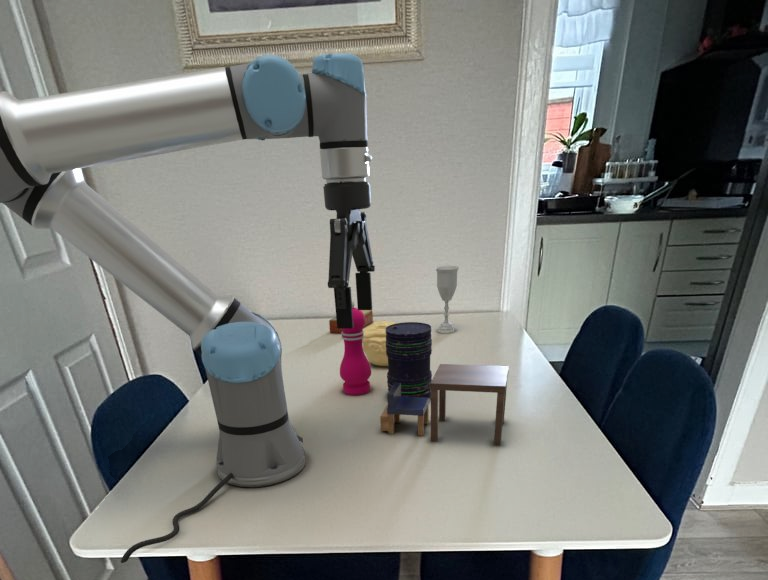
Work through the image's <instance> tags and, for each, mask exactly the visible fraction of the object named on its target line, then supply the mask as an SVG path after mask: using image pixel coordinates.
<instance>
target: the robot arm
mask: <svg viewBox="0 0 768 580" xmlns="http://www.w3.org/2000/svg"><path fill="white" fill-rule="evenodd" d="M311 65H312V68H311V72H309V73H308V72H307V73H303V74H299V72H298V70H297V68H295V67H294V65H293V64H292V63H291V62H290V61H289V60H287V59H286V58H284V57H282V56H280V55H276V54H263V55H260V56H257V58H255V59H253V60H252V61H251V62H246V63H240V64H233V65H231V66H226V67H225V66H222V67H216V68H210V69H209V68H208V69H204V70H203V69H202V70H197V71H191V72H185V73H178V74H173V75H166V76H159V77H154V78H148V79H141V80H135V81H130V82H124V83H117V84H111V85H105V86H100V87H93V88H86V89H80V90H75V91H69V92H61V93H56V94H49V95H44V96H38V97H37V96H36V97H32V98H25V99H18V98H17V97H15V96H14V95H12V94H11V93H10V92H8V91H5V90H4V91H3V90H2V91H0V204H3V205H4V206H5V207H7V208H8V209H9V210H11V211H12V212H13V213H15V214H16V215H17V216H18V217H20V218H21V219H23V221H25V222H26V223H28V224H29V226H31V227H32V228H34V229H39V230H42V229H50V230H53V231H54V232H56V233H57V234H58V235H59V236H60V237H62V238H63V239H64V240H66V241H67V242H68V243H70V244H71V245H72V246H73V247H75V248H76V249H77V250H79V251H80V252H81V253H83V254H84V255H85V256H86V257H88V258H89V259H90V260H91V261H93V263H95V264H97V265H98V266H99V267H100V268H102V269H103V270H104V271H105V272H107V273H108V274H109V275H111V276H112V277H113V278H114V279H116V280H117V281H118V282H120V283H121V284H122V285H123V286H125V287H126V288H127V289H129V290H130V291H131V292H132V293H133V294H135V295H136V296H138V297H139V298H140V299H141V300H142V301H144V302H145V303H147V304H148V305H149V306H150V307H151V308H153V309H154V310H156V311H157V312H158V313H159V314H161V315H162V316H163V317H165V319H167V320H168V321H170V322H171V323H172V324H173V325H175V326H176V327H177V328H178V329H180V330H181V331H183V333H185V334H186V335H188V337H189V339H190V345H191V349H192V350H193V351H194V352H195V353H197V354H198V355H199V356H200V357H201V361H202V364H203V366H204V370H205V373H206V374H205V375H206V378H207V382H208V386H209V391H210V396H211V400H212V404H213V408H214V409H213V410H214V413H215V418H216V421H217V426H218V431H219V436H218V442H217V443H218V444H217V450H216V451H217V452H216V458H215V459H216V460H215V466H216V470H217V474H218V475H217V476H218V477H219V478H220V479H221V481H220V482H218V484H217V485H215V487H214V488H213V489H212V490H210V491H209V493H208V494H207V495H206V496H205V497H204V498H203V499H202V500H201V501H199V503H197V504H195V505H194V506H192V507H189V508H187V509H184V510H181V511H179V512H178V513H177V514H175V515H174V516H173V518H172V525H173V529H172V531H171V532H170V533H168V534H165V535H163V536H159V537H154V538H150V539H145V540H142V541H139V542H137V543H135V544H132V546H130V547H129V548H128V549H127V550H126V551H125V552H124V554H123V556H122V557H121V559H120V563H121V564H124V563H126V562H127V561H129V559H130V557H131V556H132V555H133V554H134V553H135V552H136V551H138V550H139V549H142V548H144V547H147V546H151V545H156V544H161V543H164V542H167V541H170V540H171V539H173V538H175V537H176V536H177V535H178V534H179V532H180V524H179V520H180V519H181V518H182V517H185V516H187V515H190V514H193V513H195V512H197V511H199V510H200V509H202V508H203V507H204V506H205V505H206V504H208V502H209V501H210V500H211V499H212V498H213V497H214V496H215V495H216V494H217V492H218V491H220V490H221V489H222V488H223V487H224V486H226V484H229V485H231V486H234V487H241V488H259V487H266V486H271V485H272V486H273V485H276V484H279V483H282V482H285V481H286V480H289V479H291V478H293V477H295V476H296V475H298V474H299V473H300V472H301V471H302V470H303V469H304V467H305V465H306V455H305V450H304V447H303V445H302V444H303V443H304V439H303V437H302V436H300V435H298V434H297V433H296V431H295V430H294V427H293V426H292V424H291V422H290V418H289V411H288V405H287V397H286V391H285V385H284V378H283V369H282V367H283V366H282V354H283V349H282V342H281V338H280V336H279V334H278V332H277V330H276V328H275V327H274V326H273V324H272V323H271V322H270V321H269V320H268V319H266V318H265V317H264V316H262V315H261V314H258V313H256V312H254V311H250V310H249V309H248V308H247V307H246V306H245V305H243V303H242V302H240V301H239V300H238V299H237V298H235V297H234V295H233V296H232V295H228V296H221V295H218V294H217V293H216V292H215V291H213V290H212V289H211V288H210V287H208V285H206V284H205V283H204V282H203V281H202V280H201V279H200V278H198V277H197V276H196V275H195V274H193V272H191V271H190V270H189V269H188V268H186V267H185V266H184V265H183V264H182V263H181V262H179V261H178V260H177V259H176V258H175V257H174V256H172V255H171V254H170V253H169V252H168V251H166V249H164V248H163V247H161V246H160V245H159V244H158V243H157V242H155V241H154V240H153V239H152V238H151V237H150V236H149V235H148V234H146V233H145V232H144V231H143V230H141V229H140V228H139V227H138V226H137V225H136V224H134V223H133V222H132V221H131V220H130V219H128V217H126V216H125V215H124V214H123V213H121V212H120V211H119V210H118V209H117V208H116V207H114V206H113V205H112V204H111V203H109V201H108V200H107V199H105V198H104V197H103V196H101V195H100V194H99V193H98V192H97V191H95V190H94V189H93V188H92V187H91V186H89V185H88V184H87V182H86V181H85V178H84V173H83V169H85V168H90V167H96V166H102V165H107V164H108V165H109V164H113V163H119V162H125V161H130V160H131V161H132V160H136V159H142V158H147V157H152V156H158V155H164V154H170V153H175V152H180V151H181V152H182V151H186V150H192V149H198V148H203V147H209V146H215V145H220V144H226V143H231V142H237V141H244V140H258V141H266V140H275V139H276V140H277V139H278V140H279V139H293V138H307V137H308V138H314V137H317V138H318V140H319V156H320V157H319V158H320V167H321V168H320V169H321V178H322V179H323V180H325V182H326V183H324V185H323V187H322V188H323V197H324V198H323V199H324V200H323V201H324V207H325V209H326V210H328V211H335V212H336V218H330V219H329V232H330V233H329V235H330V238H329V257H328V258H329V260H328V279H327V280H328V281H327V287H328V289H333V295H334V307H335V317H336V319H337V328H353V327H354V325H353V311H352V301H353V300H352V299H353V297H352V287H351V286H349V285H350V275H351V268H352V259H353V262H354V266H355V269H356V272H355V276H354V277H355V285H356V286H355V287H356V288H355V289H356V305H357V308H358V310H372V311H373V295H372V293H373V292H372V278H371V277H372V276H371V275H372V272H373V273H375V271H376V266H375V265H374V260H373V255H372V253H373V252H372V247H371V243H370V236H369V229H368V223H367V213H366V211H360V210H366V209H369V208H370V207H371V206H372V198H371V197H372V196H371V183H370V182H369V181H366V179H367V178H368V177H369V176H370V165H369V163H371V162H372V160H373V156H372V154H370V153H369V148H368V147H369V142H368V139H369V137H368V117H367V116H368V115H367V114H368V113H367V112H368V111H367V92H366V83H365V74H364V73H365V72H364V65H363V61H362V60H361V58H360V56H357V55H356V54H353V53H348V52H333V53H323V54H320V55H319V54H318V55H316V56H315V57H314V58H313V60H312V63H311ZM301 443H302V444H301Z"/></svg>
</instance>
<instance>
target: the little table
mask: <svg viewBox="0 0 768 580" xmlns="http://www.w3.org/2000/svg"><path fill="white" fill-rule="evenodd" d="M509 371H510V366H509V365H487V364H485V365H484V364H482V365H481V364H450V363H440V364H439V365H438V367H437V369H436V371H435V373H434V376H432V378H431V379H432V381H431V383H430V390H431V398H430V442H435V443H436V442H438V441H439V421H440V422H441V421H443V422H445V421H446V419H447V391H449V392H450V391H451V392H453V391H454V392H471V393H472V392H473V393H495V394H496V393H497V394H496V406H495V421H494V433H493V434H494V435H493V446H499V447H500V446H501V445H502V434H503V433H502V431H503V425H504V424H505V414H506V402H507V401H506V400H507V389H508V378H509V377H508V376H509Z"/></svg>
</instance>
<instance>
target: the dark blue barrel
mask: <svg viewBox="0 0 768 580" xmlns="http://www.w3.org/2000/svg"><path fill="white" fill-rule="evenodd" d="M385 330H386V355H387V357H388V366H387V373H386V377H387V382H386V384H387V385H386V386H387V391H388V392H389V391H390V389H391V388H392V386H393V385H394V383H401V396H402V397H424V398H429V400H431V390H430V383H431V381H432V379H433V374H432V369H431V355H432V351H433V349H432V345H433V339H432V326H431V325H430V324H428V323H425V322H418V321H404V322H396V324H392V325H390V326H387V327H386V329H385Z"/></svg>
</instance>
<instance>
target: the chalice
mask: <svg viewBox="0 0 768 580" xmlns="http://www.w3.org/2000/svg"><path fill="white" fill-rule="evenodd" d="M459 269H460V267H459V266H458V265H439V266H436V267H435V270H436V287H437V290H438V294H439V297H440V298H441V301H443V302H444V307H443V310H444V313H443V316H444V321H443V322H441V323H440V325H439V328H438V330H437V332H438V333H441V334H451V333H454V332H455V329H454V326H453V323H452V322H450V321H449V316H450V313H449V310H450V307H449V302H451V301H452V300H453V298H454V295H455V292H456V290H457V286H458V271H459Z"/></svg>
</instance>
